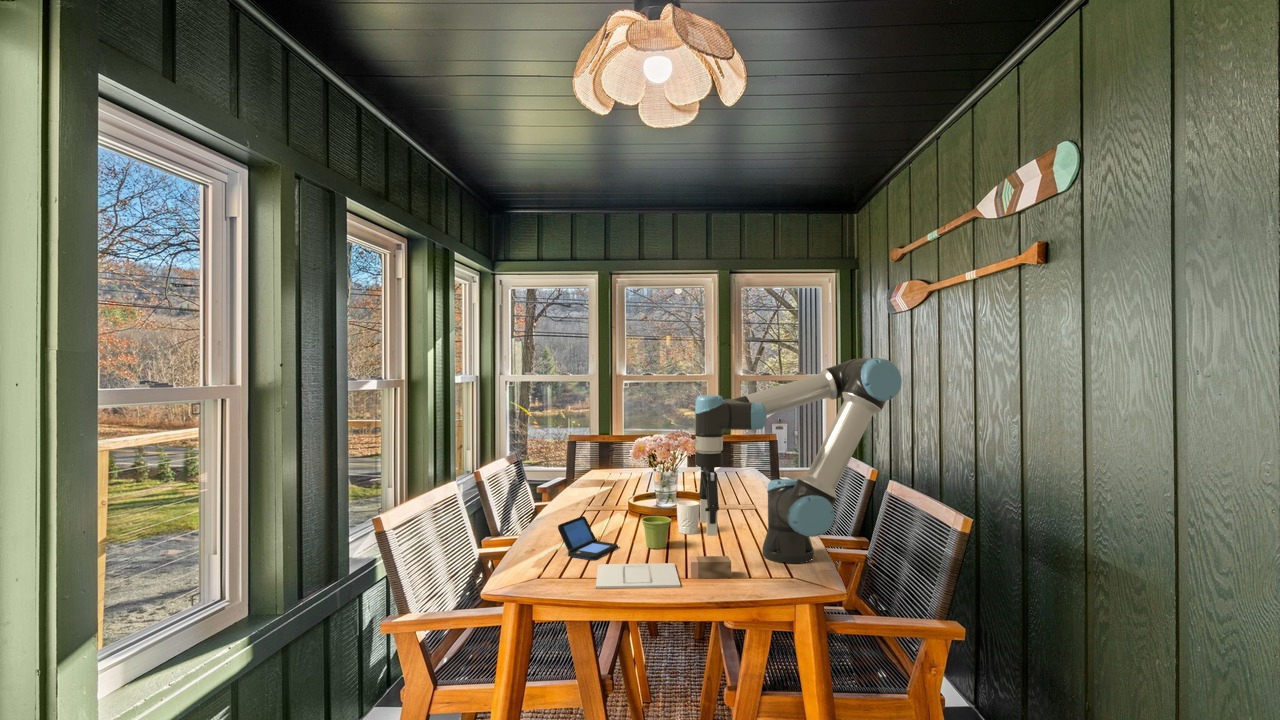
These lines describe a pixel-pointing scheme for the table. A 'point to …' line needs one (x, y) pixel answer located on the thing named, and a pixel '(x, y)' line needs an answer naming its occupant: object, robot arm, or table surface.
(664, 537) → the plant pot
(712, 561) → the walnut block
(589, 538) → the handheld game console
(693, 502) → the white cup
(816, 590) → the table surface
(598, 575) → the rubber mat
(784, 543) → the robot arm
